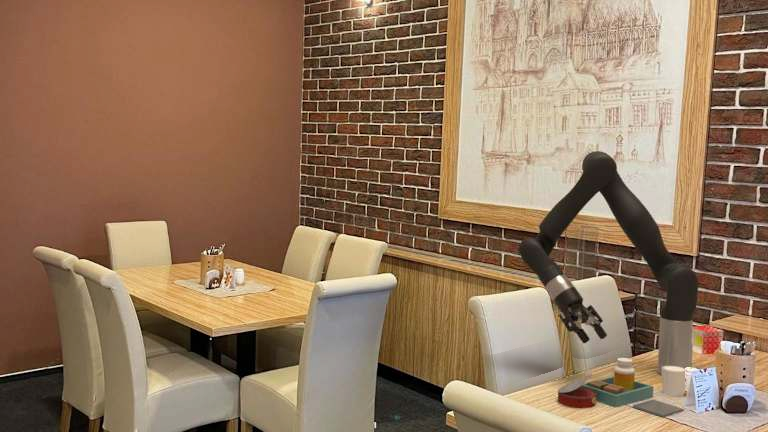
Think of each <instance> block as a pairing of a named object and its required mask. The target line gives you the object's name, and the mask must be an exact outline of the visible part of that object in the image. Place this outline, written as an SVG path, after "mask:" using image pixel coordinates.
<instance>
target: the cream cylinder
mask: <svg viewBox="0 0 768 432" xmlns="http://www.w3.org/2000/svg"><path fill="white" fill-rule="evenodd" d="M661 370H662V375H661V387H662V388H661V389H662V390H661V391H662V394H665V395H666V396H670V395H671V396H672V397H683V396H684V395H685V391H686V385H685V368H683V367H678V366H662V367H661ZM682 395H683V396H682ZM671 396H670V397H671Z"/></svg>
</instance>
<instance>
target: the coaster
mask: <svg viewBox="0 0 768 432" xmlns="http://www.w3.org/2000/svg"><path fill="white" fill-rule="evenodd" d="M631 407H632V409H636V410H638V411H641V412H645V413H648V414H651V415H654V416H656V417H660V418H666V416H667V417H669V415H670V416H673V415H675V414H674V413H676V414H679V413H682V411H683V412H684V411H685V410H684V409H685V408H682V407H679V406H676V405H673V404H669V403H666V402H663V401H661V400H656V399H650V400H646V401H643V402H640V403H636V404H633V405H632V406H631ZM678 412H679V413H678ZM672 414H673V415H672Z"/></svg>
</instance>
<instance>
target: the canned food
mask: <svg viewBox="0 0 768 432" xmlns="http://www.w3.org/2000/svg"><path fill="white" fill-rule="evenodd" d="M592 376H593V374H592V373H591V374H589V375H585V376H584V377H581V378H578V379H576V380H573V381H571V382H569V383H566V384H564V385H562V386H560V387H559V388H558V389H557V402H558V403H559V404H560V405H563V406H564V407H565V406H566V407H568V408H574V409H591V408H594V407H595V406H596V404H597V401H596V392H595V391H593V390H591V389H588V388H584V387H580V386H582V385H583V384H584V383H587V381H588V380H589V379H590V378H591V377H592Z"/></svg>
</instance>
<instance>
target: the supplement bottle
mask: <svg viewBox="0 0 768 432" xmlns="http://www.w3.org/2000/svg"><path fill="white" fill-rule="evenodd" d="M616 363H617V365H616V366H614V370H613V376H614V385H617V386H621V387H624V392H628V391H632V390H634V381H635V376H636V375H635V374H636V372H635V368H634V367H633V359H631V358H629V357H618V358H617V361H616Z"/></svg>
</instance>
